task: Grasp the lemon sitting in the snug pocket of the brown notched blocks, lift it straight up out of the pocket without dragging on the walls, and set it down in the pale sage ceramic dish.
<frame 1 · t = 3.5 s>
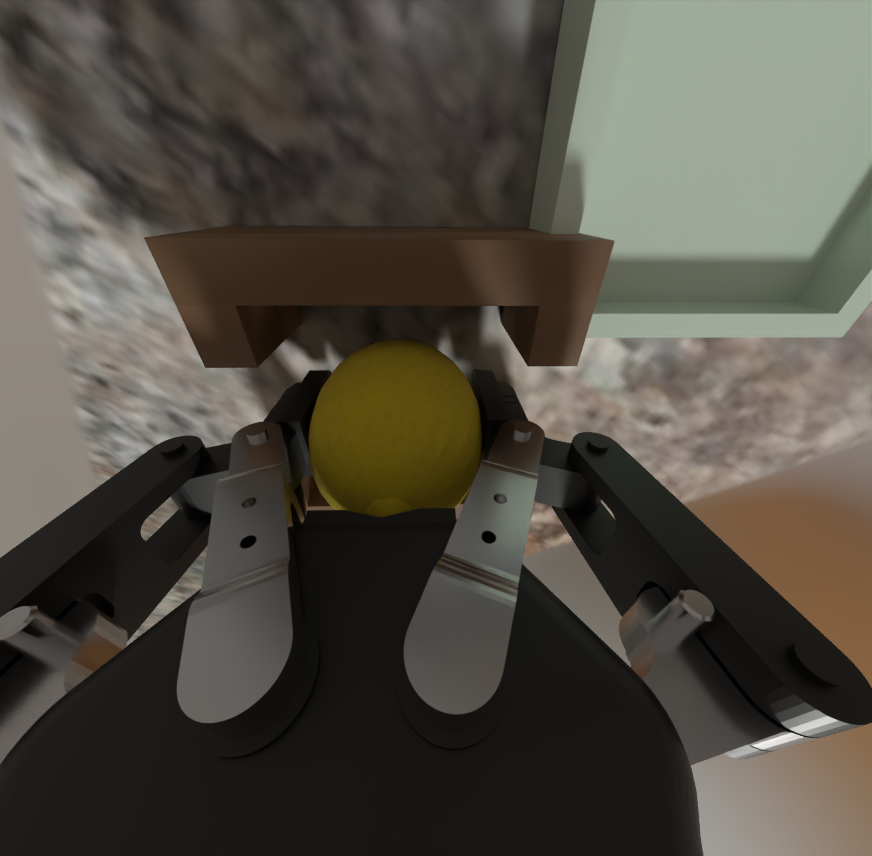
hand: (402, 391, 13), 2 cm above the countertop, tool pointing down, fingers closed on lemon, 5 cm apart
lemon: (405, 372, 14), on the countertop, touching gripper
dish: (726, 130, 9), on the countertop
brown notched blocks: (405, 374, 14), on the countertop
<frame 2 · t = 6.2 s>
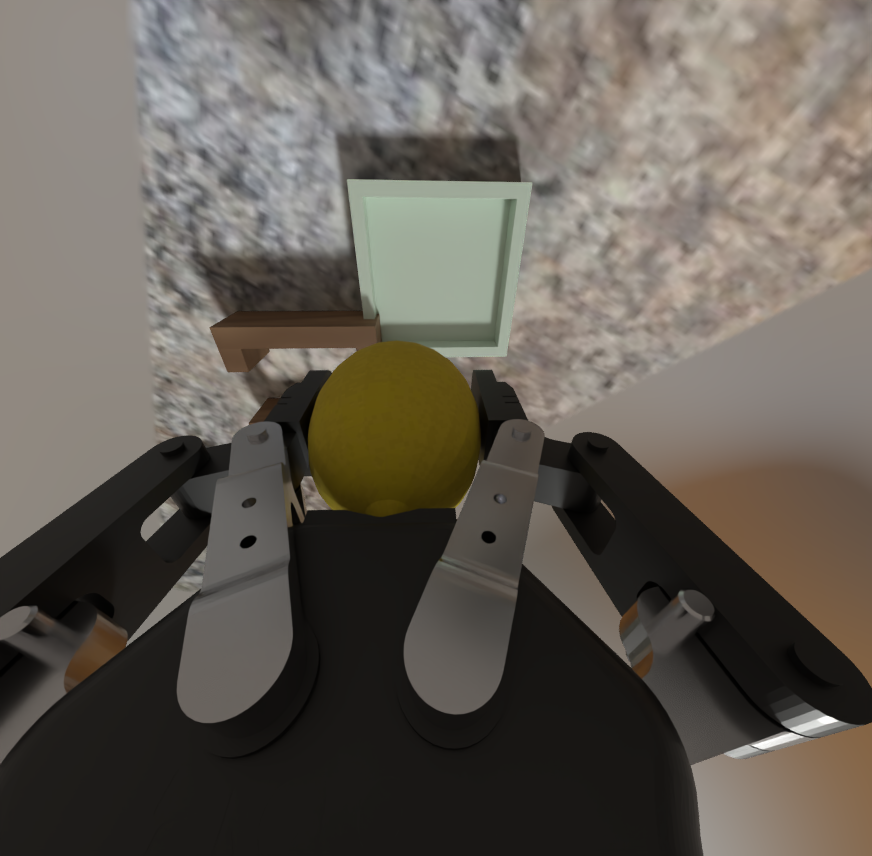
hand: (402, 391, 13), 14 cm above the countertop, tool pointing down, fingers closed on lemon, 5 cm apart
lemon: (404, 373, 14), point 13 cm above the countertop, touching gripper
dish: (437, 276, 23), on the countertop
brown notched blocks: (323, 375, 27), on the countertop
when the fingers open (3 cm above the countertop, at t = 9.2 s): lemon drops 1 cm, resting on dish.
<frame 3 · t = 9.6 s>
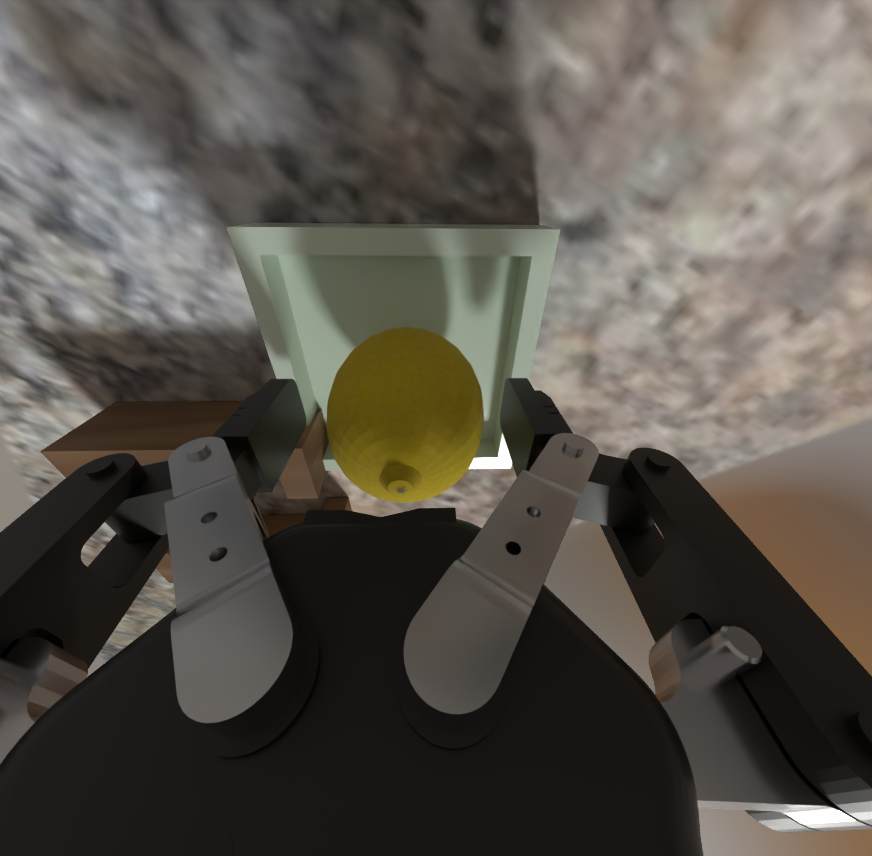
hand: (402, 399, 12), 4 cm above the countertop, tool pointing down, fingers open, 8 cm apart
lemon: (412, 360, 15), point 1 cm above the countertop, touching dish
dish: (406, 356, 15), on the countertop
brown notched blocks: (256, 474, 20), on the countertop
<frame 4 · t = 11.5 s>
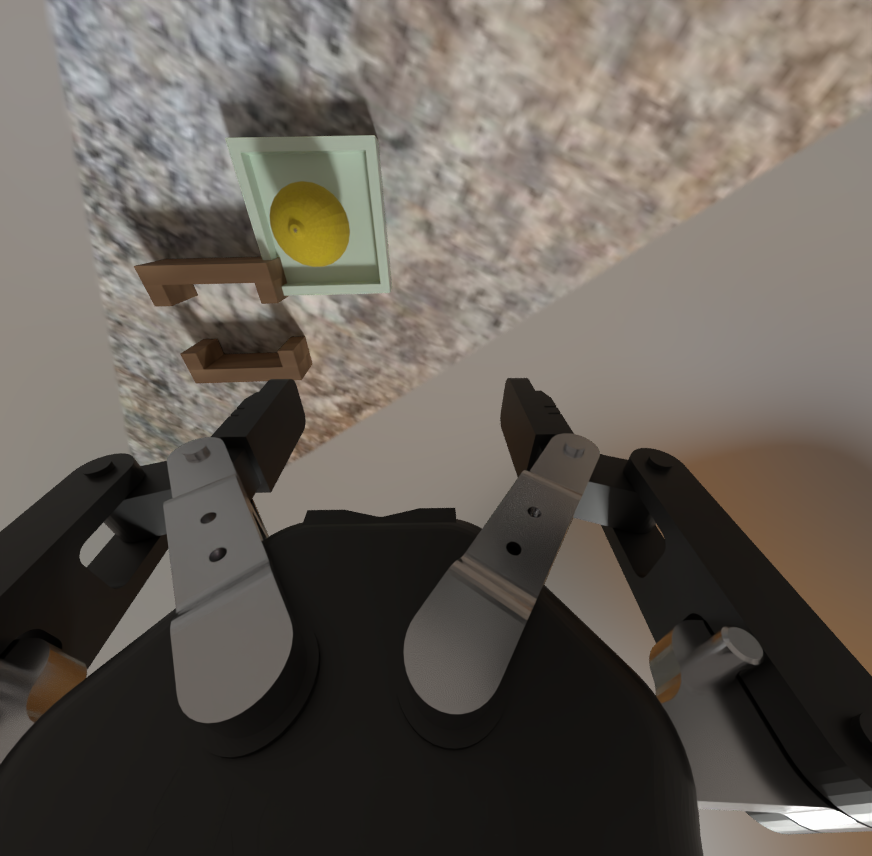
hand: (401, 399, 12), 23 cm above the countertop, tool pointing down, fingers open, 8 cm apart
lemon: (326, 223, 28), point 1 cm above the countertop, touching dish
dish: (324, 223, 28), on the countertop
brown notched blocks: (246, 316, 33), on the countertop
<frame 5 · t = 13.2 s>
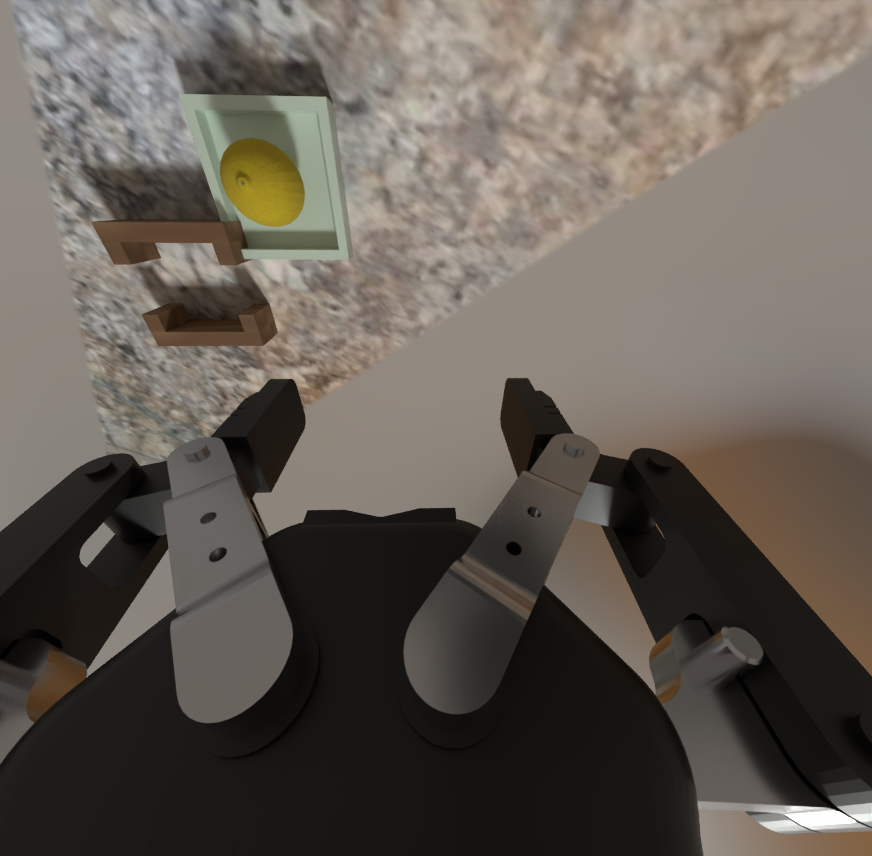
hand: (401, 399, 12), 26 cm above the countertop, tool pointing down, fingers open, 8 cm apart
lemon: (284, 187, 28), point 1 cm above the countertop, touching dish
dish: (284, 188, 29), on the countertop
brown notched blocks: (210, 281, 33), on the countertop
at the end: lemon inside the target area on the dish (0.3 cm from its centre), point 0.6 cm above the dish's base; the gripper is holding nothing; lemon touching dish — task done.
